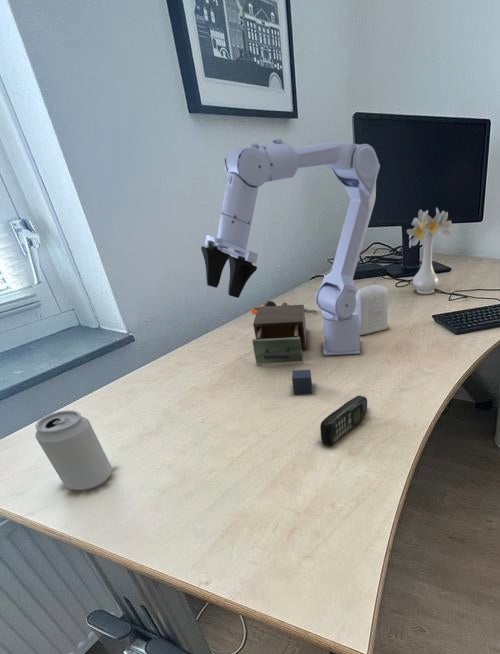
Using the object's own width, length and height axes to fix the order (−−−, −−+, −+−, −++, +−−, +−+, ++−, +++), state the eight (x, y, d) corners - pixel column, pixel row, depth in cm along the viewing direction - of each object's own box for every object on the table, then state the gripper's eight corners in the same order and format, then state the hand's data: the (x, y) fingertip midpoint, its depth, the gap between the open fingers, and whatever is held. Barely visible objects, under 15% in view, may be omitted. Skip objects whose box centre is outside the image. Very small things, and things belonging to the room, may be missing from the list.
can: (77, 467, 77) (44, 408, 70) (120, 464, 78) (92, 405, 70) (57, 495, 71) (19, 434, 64) (104, 492, 72) (71, 431, 64)
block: (312, 385, 100) (310, 369, 97) (312, 393, 97) (310, 377, 94) (294, 386, 100) (292, 370, 97) (294, 394, 97) (291, 378, 94)
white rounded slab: (381, 325, 129) (381, 281, 121) (389, 329, 126) (390, 284, 119) (352, 332, 125) (350, 287, 117) (360, 337, 122) (358, 291, 114)
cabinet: (305, 350, 116) (302, 321, 111) (258, 352, 115) (253, 323, 110) (306, 331, 126) (303, 304, 121) (262, 333, 125) (258, 306, 121)
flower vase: (400, 298, 148) (403, 213, 132) (414, 283, 162) (418, 205, 146) (438, 302, 145) (445, 215, 129) (449, 286, 158) (457, 206, 142)
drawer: (302, 368, 105) (299, 345, 101) (254, 371, 104) (250, 348, 100) (303, 342, 118) (301, 320, 114) (261, 344, 117) (257, 322, 113)
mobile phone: (329, 427, 77) (373, 390, 87) (315, 422, 79) (360, 387, 88) (331, 449, 81) (373, 412, 90) (318, 444, 82) (361, 408, 91)
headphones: (319, 302, 138) (286, 306, 121) (319, 320, 140) (287, 326, 124) (274, 297, 143) (236, 300, 126) (274, 314, 146) (238, 319, 129)
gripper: (197, 205, 85) (185, 277, 90) (241, 219, 78) (226, 297, 83) (227, 218, 91) (215, 285, 96) (271, 232, 84) (256, 304, 89)
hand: (222, 291), depth 90 cm, fingers open, 7 cm apart
